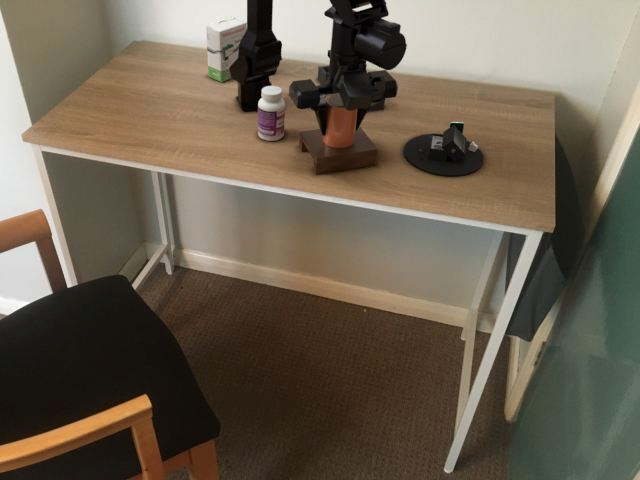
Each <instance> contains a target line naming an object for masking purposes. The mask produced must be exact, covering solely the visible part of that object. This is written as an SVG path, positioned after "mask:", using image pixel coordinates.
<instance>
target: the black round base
mask: <svg viewBox="0 0 640 480" xmlns="http://www.w3.org/2000/svg"><path fill="white" fill-rule="evenodd" d="M464 129H465V122H462V121H451V122H450V123H449V128H447V129H445V130H444V131H443V132H442V133H427V134H426V133H425V134H420V135H417V136H415V137H413V138H411V139H409V140H408V141H407V142H406V143H405V145H404V147H403V156H404V158H405V160H406V161H407V162H408V163H409V164H410V165H411V166H413V167H414V168H415V169H418V170H420V171H422V172H424V173H427V174H429V175H434V176H440V177H449V178H451V177H453V178H455V177H456V178H457V177H464V176H468V175H471V174H473V173H475V172H477V171H478V170H480V169H481V167H482V166H483V163H484V155H483V152H482V151H481V149H480V148H479V145H478V144H477V143H475V141H472V142H470V141H469V140H467V137H466V135H464Z"/></svg>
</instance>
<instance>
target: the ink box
mask: <svg viewBox="0 0 640 480" xmlns="http://www.w3.org/2000/svg"><path fill="white" fill-rule="evenodd" d="M246 30H247V21H244V20H243V19H240V18H238V17H236V16H229V17H226V18H223V19H220V20H216V21H214V22H211V23H207V25H206V26H205V33H206V53H207V72H208V73H207V75H208V77H209V78H211V79H214V80H216V81H218V82H220V83H223V82H226V81H229V80H231V79H232V78H231V74H230V70H229V67H230V66H231V65H232V64H233V63H234V62H235V61H236V59H237V58H238V52H239V44H240V42H241V40H242V38H243V36H244V34H245V32H246Z"/></svg>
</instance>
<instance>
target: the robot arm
mask: <svg viewBox="0 0 640 480" xmlns="http://www.w3.org/2000/svg"><path fill="white" fill-rule="evenodd" d="M329 2H330V4H331V6H330V7H329V8H327V9H326V11H324V13H323V15H324V16H325V17H326V18H330V19H331V20H332V28H331V38H330V40H331V42H330V49H327V57H328V59H329V62H328V63H329V64H328V66H329V73H326V80H327V81H328V85H321V84H320V85H316V84H315V82H314V81H313V80H312V79H311V78H307V79H300V80H292V81H291V83H290V85H289V86H288V96H289V98H290V100H291V101H292V103H293V104H294V105H295V107H296V109H299V110H307V109H310V110H311V111H313V112H314V114H315V118H316V120H317V124H318V127H319V129H320V131H321V133H322V135H323V136H324V135H325V133H326V112H327V110H328V109H329V107H328V106H327V104H326V103H325V102H326V98H327V97H328V96H333V95H340V97H341V99H342V102H343V105H344V108H345V109H346V110H349V111H353V110H355V109H358V115H357V123H356V131H357V130H358V128H359V126H360V127H361V124H362V122H363V120H364V119H365V118H366V117H365V116H366V115H367V113H368V112H369V111H368V110H369V109H370V107H371V106H372V105H374V104H376V103H379V102H381V101H382V99H384V98H385V99H391V98H396V97H397V96H398V90H399V84H398V82H397V80H396V79H395V78H394V77H393V76H392V75H391V74H390V73H389V72H388V71H392V70H394V69H395V68H396V67H398V65H400V63H401V62H402V60H403V59H404V56H405V54H406V51H407V47H408V45H407V39H406V37H405V35H404V34H403V33H402V32H401V28H402V27H401V26H402V25H401V24H400V23H397V22H393V21H389V20H387V19H384V18H387V17H388V16H389V14H390V13H389V9H388V6H387V2H386V0H329ZM369 5H371V7H368V8H365V9H361V10H358V11H357V10H355V9H358V8H362V7H365V6H369ZM273 10H274V0H246V22H247V30H246V32H245V34H244V36H243V38H242V40H241V42H240V44H239V52H238V58H237V59H236V61H235V62H234V63H233V64H232V65H231V66H230V67H229V70H230V74H231V79H232V80H234V81H235V82H237V96H235V100H236V102H237V104H238V105H239V107H240V110H241V111H242V112H251V111H258V102H259V100H260V99H261V98H262V96H261V94H262V89H263V88H264V87H266V86H273V85H272V84H273V83H272V82H271V80H270V77H272V76H275V75H276V74H277V70H278V68H279V67H280V65H281V64H280V63H281V61H283V57H282V48H283V42H282V41H281V40H280V39H278V38H277V36H276V35H275V33H274V31H273ZM367 62H368V63H370V64H372V65H374V66H377V67H378V68H381V69H382V70H374V71H367Z"/></svg>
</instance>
